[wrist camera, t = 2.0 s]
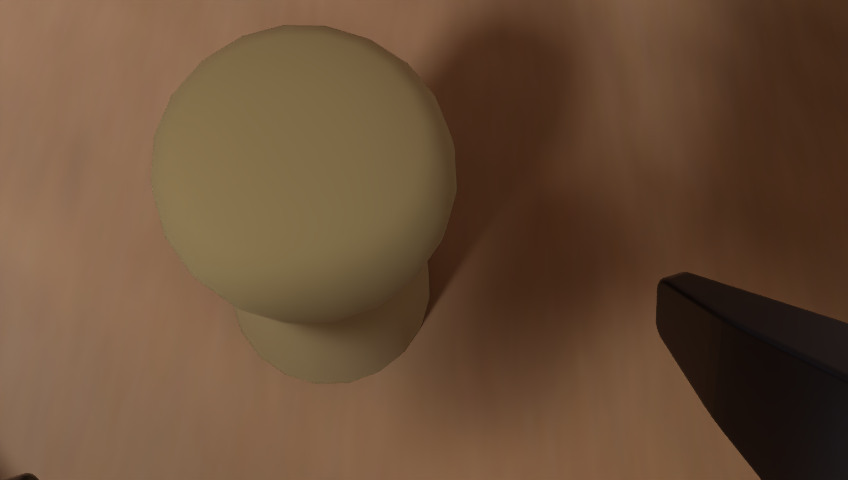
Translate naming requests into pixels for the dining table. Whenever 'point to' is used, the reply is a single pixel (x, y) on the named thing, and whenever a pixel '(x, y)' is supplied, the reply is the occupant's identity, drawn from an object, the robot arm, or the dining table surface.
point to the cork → (308, 195)
